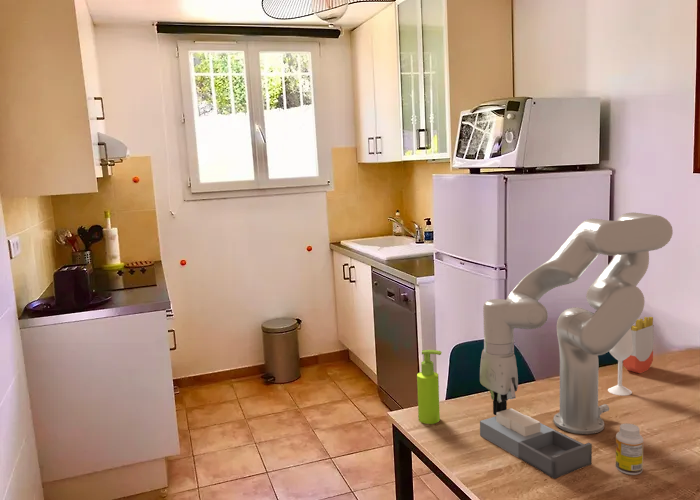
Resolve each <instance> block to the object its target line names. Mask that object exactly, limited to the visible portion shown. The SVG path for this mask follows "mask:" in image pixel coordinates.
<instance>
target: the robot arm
mask: <svg viewBox="0 0 700 500" xmlns="http://www.w3.org/2000/svg"><path fill="white" fill-rule="evenodd" d="M673 233H674V232H673V226H672V224H671V223H670V221H669V220H668V219H667V218H665V217H664V216H661V215H657V214H652V213H651V214H650V213H642V212H627V213H623V214H622V215H620V216H619V217H617V219H616V220H610V219H609V220H608V219H600V218H588V219H585V220H583V221H582V222H581V223H580V224H579V225H578V226H577V227H576V228H575V229H574V230H573V231H572V233H571V234H570V235H569V236H568V237H567V239H566V240H565V241H564V242H563V243H562V244H561V245H560V247H559V248H558V249H557V250H556V251H555V253H554V254H553V255H552V256H551V257H550V258H549V259H548V260H547V261H545V262H544V263H542V264H541V265H539V266H538V267H536V268H535V269H534V270H531V271H530V272H529V273H528V274H526V275H525V276H524V277H523V278H522V279H521V280H520V281H519V282H518V283H517V284H516V285H515V287H514V288H513V289H512V291H511V292H510V293H509V295H507V297H506V299H503V298H493V299H489V300H487V301H485V302H484V303H483V310H482V311H483V313H482V314H483V349H482V351H481V356H480V357H481V358H480V364H479V366H480V367H479V382H480V384H481V385H482V387H485V388H486V389H487V390H488V391H489V393H490V398H491V400H492V412H493V413H492V414H493V416H496V412H500V411H503V410H507V409H508V407H507V404H508V403H507V402H508V401H509V400H513V399H516V398H517V397H516V392H517V391H518V388H519V378H518V377H519V375H518V367H517V358H516V355H515V333H514V332H515V329H522V330H536V329H539V328H542V327H543V326H544V325H545V324H546V323H547V321H548V317H549V313H548V310H547V309H546V307H545V306H544V304H543V303H541V302H539V300H540V299H541V298H542V297H543V296H544V295H546V294H547V293H548V292H550V291H551V290H553V289H555V288H559V287H562V286H566V285H569V284H572V283H574V282H576V281H578V280H579V279H580V277H581V276H582V275H583V274H584V273H585V271H586V270H587V269H588V268H589V267H590V266H591V265H592V264H593V262H594V261H595V260H596V259H597V258H598V256H599V255H600V254H601V255H602V256H603V255H604V256H609V257H611V256H613V258H612V259H611V260H610V262H609V263H608V264H607V266H606V267H605V268H604V269H603V270H602V272H601V273H600V274H599V275H598V276H597V278H596V279H594V281H593V282H592V283H591V285H590V286H589V287H588V289H587V291H586V295H585V297H586V301H587V303H588V305H589V306H590V307H591V308H593V309H594V310H596V311H594V312H592V311H589V310H588V309H585V308H583V307H576V306H575V307H574V306H573V307H570V308H567V309H565V310H563V311H562V312H561V313H560V315H559V317H558V318H557V322H556V335H557V341H558V342H557V343H558V350H559V412H557V413H555V414H554V415H553V424H554V425H555V426H556V427H558V428H559V429H561V430H563V431H565V432H569V433H572V434H577V435H579V434H580V435H591V434H593V435H594V434H596V433H597V434H598V433H599V432H602V431H603V430H604V428H605V422H604V420H603V418H601V415H602V414H604V413H607V412H609V411H610V406H609V405H608V404H605V403H604V404H601V405H599V369H600V368H599V356H603V355H606V353H608V352H609V351H610V350H611V349H612V348H613V347H614V346H615V345H616V344H617V343H618V342H619V341H620V340H621V339H622V337H623V336H624V335H625V334H626V333H627V331H628V330H629V329H630V328H631V327H632V326H633V325H634V324H636V321H637V319H640V316H641V315H642V313H643V311H644V308H645V302H646V301H645V297H644V294H643V292H642V290H641V289H640V288H639V287H638V285H639V283H640V281H641V280H642V279H643V278H644V276H645V274H646V273H647V271H648V268H649V265H650V264H649V263H650V253H649V252H651V251H656V250H659V249H662V248H664V247H665V246H667V244H669V242H670V241H671V239H672V236H673ZM609 353H610V352H609Z"/></svg>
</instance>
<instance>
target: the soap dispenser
mask: <svg viewBox="0 0 700 500" xmlns="http://www.w3.org/2000/svg"><path fill="white" fill-rule="evenodd" d="M442 353H443V352H442V351H441V350H437V349H422V350H421V355H423V361H421V365H420V368H421V371H420V372H418V373H417V374H416V380H417V385H416V386H417V412H418V413H417V414H418V421H419V422H420V423H421V424H424V425H426V424H427V425H434V424H437V423H439V421H440V420H441V419H440V418H441V417H440V415H441V414H440V413H441V412H440V388H439V387H440V386H439V382H440V381H439V373H438V372H435V370H434V361H433V360H431V355H438V356H440V355H442Z"/></svg>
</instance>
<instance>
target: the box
mask: <svg viewBox="0 0 700 500" xmlns="http://www.w3.org/2000/svg"><path fill="white" fill-rule="evenodd" d="M592 450H593V444H592V443H591V442H586V443H585V444H584V443H582V442H580V441H578V440H576V439H574V438H572V437H570V436H568V435H566V434H564V433H563V432H559V431H558V430H556V429H554V431H553V444H551V445H548V446H545V447H542V448H539V449H534V448H532V447H530V446H528V445H526V444H525V443H523V442H518V452H519V458H518V459H519V460H521V461H522V462H525V463H526V464H528V465H530V467H531V466H532V467H533V468H534V469H536V470H537V471H540V472H541V473H543V474H545V475H547V476H548V477H550V478H552V479H553V480H554V479H557V478H560V477H562V476H565V475H567V474H570V473H573V472H575V471H578V470H581V469H583V468H585V467H588V466H591V465H593V464H592V463H593V462H592V461H593V459H592V458H593V457H592V454H593V452H592Z"/></svg>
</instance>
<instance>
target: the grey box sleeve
mask: <svg viewBox="0 0 700 500" xmlns="http://www.w3.org/2000/svg"><path fill="white" fill-rule="evenodd" d="M554 430H555V429H553V428H551V427H549V426H547V425H545V424H543V423H541V422H540V432H538V433H535V434H532V435H528V436H523V435H521V434H519V433H518V432H516V431H514V430H512V429H509V428H507V427H505V426H503V425H501V424H500V423H498V422H496V415H494V416H492V417H489V418H485V419H483V420H482V419H481V420H479V436H480V437H481V438H483V439H485V440H487V441H489V442H490V443H492V444H493V445H495V446H497V447H499V448H501V449H502V450H504V451H506V452H507V453H509V454H510V455H513V456H514V457H516V458H518V459H519V452H518V442H523V443H525V444H526V445H528V446H530V447H532V448H534V449H539V448H542V447H545V446H548V445H551V444H553V431H554Z"/></svg>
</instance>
